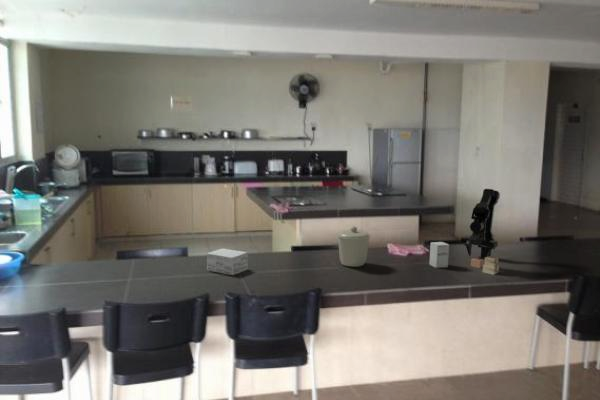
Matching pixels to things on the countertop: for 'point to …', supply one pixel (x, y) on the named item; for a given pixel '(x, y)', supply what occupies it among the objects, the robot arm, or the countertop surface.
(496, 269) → the tower base
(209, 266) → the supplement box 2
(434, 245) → the supplement box
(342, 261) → the canister
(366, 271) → the countertop surface
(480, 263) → the terracotta block
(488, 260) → the tower mid
